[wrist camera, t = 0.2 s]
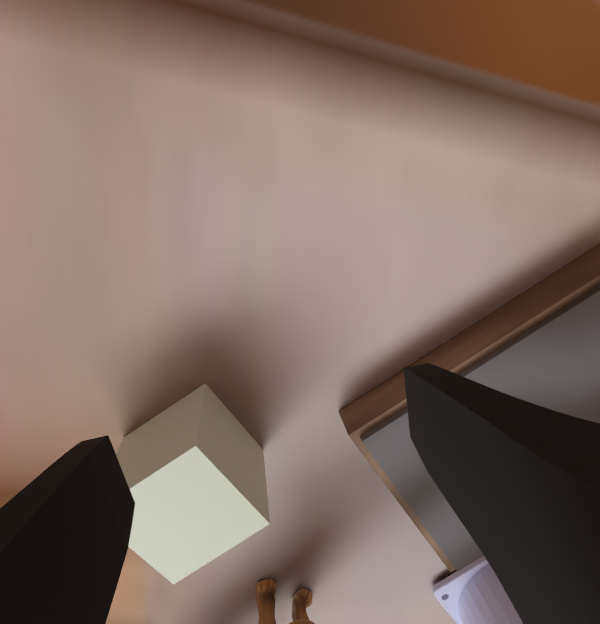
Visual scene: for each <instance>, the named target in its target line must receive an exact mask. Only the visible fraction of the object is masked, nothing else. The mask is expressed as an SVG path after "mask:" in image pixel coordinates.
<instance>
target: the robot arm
mask: <svg viewBox="0 0 600 624" xmlns="http://www.w3.org/2000/svg"><path fill="white" fill-rule="evenodd" d="M403 369H404V379H405V389H406V399H407V410H408V420H409V430H410V438H411V440H412V442H413V444H414V446H415V448H416V450H417V452H418V454H419V456H420V458H421V460H422V462H423V464H424V466H425V468H426V470H427V471H428V473H429V475H430V476H431V478H432V479H433V481H434V482H435V484H436V485H437V487H438V488H439V490H440V491H441V493H442V494H443V496H444V497H445V499H446V500H447V502H448V503H449V505H450V506H451V508H452V509H453V511H454V512H455V513H456V515H457V516H458V518H459V519H460V521H461V522H462V524H463V525H464V527H465V528H466V530H467V531H468V533H469V534H470V536H471V537H472V539H473V540H474V541H475V543H476V544H477V546H478V547H479V549H480V550H481V552H482V553H483V555H484V556H482V557H481V558H479V559H477V560H476V561H474V562H472V563H471V564H469V565H467V566H466V567H464V568H462V569H461V570H459V571H456V572H455V573H453V574H451V575H450V576H448V577H446V578H445V579H443V580H441V581H440V582H438V583H436V584H435V585H434V586H433V589H432V590H433V593H434V595H435V597H436V598H437V599H438V600H439V602H440V603H441V604H442V605H443V607H444V608H445V609H446V610H447V612H448V613H449V614H450V615H451V617H452V618H453V619H454V621H455V622H456V623H457V624H600V423H596V422H592V421H589V420H585V419H581V418H577V417H574V416H570V415H567V414H564V413H560V412H557V411H554V410H551V409H548V408H545V407H542V406H539V405H536V404H533V403H530V402H527V401H524V400H521V399H519V398H516V397H513V396H511V395H508V394H505V393H503V392H500V391H497V390H495V389H492V388H490V387H487V386H485V385H482V384H480V383H477V382H475V381H473V380H470V379H468V378H465V377H463V376H461V375H458V374H456V373H453V372H451V371H448V370H446V369H443V368H441V367H438V366H435V365H433V364H429V363H424V364H419V365H415V366H411V367H406V368H403ZM134 508H135V502H134V499H133V497H132V494H131V492H130V489H129V487H128V484H127V482H126V479H125V476H124V474H123V471H122V469H121V466H120V464H119V461H118V459H117V456H116V454H115V451H114V449H113V446H112V444H111V441H110V439H109V436H103V437H99V438H95V439H90V440H86V441H82V442H80V443H79V444H77V445H76V446H74V447H73V448H72V449H70V450H69V451H68V452H67V453H65V454H64V455H63V456H62V457H60V458H59V459H58V460H57V461H56V462H54V463H53V464H52V465H51V466H50V467H48V468H47V469H46V470H45V471H44V472H43V473H41V474H40V475H39V476H38V477H37V478H36V479H34V480H33V481H32V482H31V483H30V484H29V485H27V486H26V487H25V488H24V489H23V490H21V491H20V492H19V493H18V494H17V495H16V496H14V497H13V498H12V499H11V500H10V501H9V502H7V503H6V504H5V505H4V506H3V507H1V508H0V624H105V623H106V620H107V616H108V613H109V610H110V606H111V603H112V600H113V597H114V593H115V590H116V587H117V583H118V580H119V577H120V573H121V570H122V566H123V563H124V560H125V556H126V553H127V549H128V545H129V539H130V534H131V528H132V521H133V515H134Z"/></svg>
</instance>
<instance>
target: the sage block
mask: <svg viewBox="0 0 600 624" xmlns="http://www.w3.org/2000/svg"><path fill="white" fill-rule="evenodd" d="M116 456H117V459H118V461H119V464H120V466H121V469H122V471H123V474H124V476H125V479H126V482H127V484H128V487H129V489H130V492H131V494H132V497H133V499H134V502H135V508H134V515H133V521H132V528H131V534H130V539H129V545H128V547H130V548H131V549H132V550H133V551H134V552H136V553H137V554H138V555H139V556H140V557H141V558H143V559H144V560H145V561H146V562H147V563H149V564H150V565H151V566H152V567H153V568H155V569H156V570H157V571H158V572H159V573H160V574H162V575H163V576H164V577H165V578H166V579H168V580H169V581H170V582H171V583H172V584H175V583H177V582H178V581H180V580H181V579H183V578H184V577H186V576H188V575H189V574H191V573H192V572H194V571H196V570H197V569H199V568H200V567H202V566H204V565H205V564H207V563H208V562H210V561H212V560H213V559H215V558H216V557H218V556H219V555H221V554H223V553H224V552H226V551H227V550H229V549H231V548H232V547H234V546H235V545H237V544H239V543H240V542H242V541H243V540H245V539H246V538H248V537H250V536H251V535H253V534H254V533H256V532H258V531H259V530H261V529H262V528H264V527H266V526H267V525H269V524H270V520H269V509H268V498H267V487H266V476H265V465H264V454H263V449H262V448H261V447H260V446H259V444H258V443H257V442H256V441H255V440H254V439H253V438H252V436H251V435H250V434H249V433H248V432H247V431H246V430H245V428H244V427H243V426H242V425H241V424H240V423H239V421H238V420H237V419H236V418H235V417H234V416H233V415H232V413H231V412H230V411H229V410H228V409H227V408H226V406H225V405H224V404H223V403H222V402H221V401H220V400H219V398H218V397H217V396H216V395H215V394H214V393H213V392H212V390H211V389H210V388H209V387H208V386H207V385H206V383H205V384H204V385H202V386H200V387H199V388H197V389H196V390H194V391H193V392H191V393H190V394H188V395H187V396H185V397H184V398H182V399H181V400H179V401H178V402H176V403H175V404H173V405H172V406H170V407H169V408H167V409H166V410H164V411H163V412H161V413H160V414H158V415H157V416H155V417H154V418H152V419H151V420H149V421H148V422H146V423H145V424H143V425H142V426H140V427H139V428H137V429H136V430H134V431H133V432H131V433H130V434H128V435H127V436H125V437H124V438H123V440H122V442H121V445H120V447H119V449H118V452H117V454H116Z"/></svg>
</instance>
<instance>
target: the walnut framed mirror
mask: <svg viewBox="0 0 600 624" xmlns="http://www.w3.org/2000/svg"><path fill="white" fill-rule="evenodd" d="M424 363H429V364H433V365H435V366H438V367H441V368H443V369H446V370H448V371H451V372H453V373H456V374H458V375H461V376H463V377H465V378H468V379H470V380H473V381H475V382H477V383H480V384H482V385H485V386H487V387H490V388H492V389H495V390H497V391H500V392H503V393H505V394H508V395H511V396H513V397H516V398H519V399H521V400H524V401H527V402H530V403H533V404H536V405H539V406H542V407H545V408H548V409H551V410H554V411H557V412H560V413H564V414H567V415H570V416H574V417H577V418H581V419H585V420H589V421H592V422H596V423H600V244H599V245H597V246H596V247H594V248H592V249H591V250H589V251H588V252H586V253H585V254H583V255H582V256H580V257H578V258H577V259H575V260H574V261H572V262H571V263H569V264H568V265H566V266H564V267H563V268H561V269H560V270H558V271H557V272H555V273H553V274H552V275H550V276H549V277H547V278H546V279H544V280H543V281H541V282H539V283H538V284H536V285H535V286H533V287H532V288H530V289H529V290H527V291H525V292H524V293H522V294H521V295H519V296H518V297H516V298H515V299H513V300H511V301H510V302H508V303H507V304H505V305H504V306H502V307H501V308H499V309H497V310H496V311H494V312H493V313H491V314H490V315H488V316H487V317H485V318H483V319H482V320H480V321H479V322H477V323H476V324H474V325H472V326H471V327H469V328H468V329H466V330H465V331H463V332H462V333H460V334H458V335H457V336H455V337H454V338H452V339H451V340H449V341H448V342H446V343H444V344H443V345H441V346H440V347H438V348H437V349H435V350H434V351H432V352H430V353H429V354H427V355H426V356H424V357H423V358H421V359H420V360H418V361H416V362H415V363H413V364H412V365H410V366H409V367H411V366H415V365H419V364H424ZM339 414H340V416H341V418H342V421H343V423H344V425H345V428H346V430H347V433H348V435H349V436H350V438H351V439H352V440H353V442H354V443H355V444H356V446H357V447H358V449H359V450H360V451H361V453H362V454H363V455H364V457H365V458H366V459H367V461H368V462H369V463H370V465H371V466H372V467H373V469H374V470H375V471H376V473H377V474H378V475H379V477H380V478H381V479H382V481H383V482H384V483H385V485H386V486H387V487H388V489H389V490H390V491H391V493H392V494H393V495H394V497H395V498H396V500H397V501H398V502H399V504H400V505H401V506H402V508H403V509H404V510H405V512H406V513H407V514H408V516H409V517H410V518H411V520H412V521H413V522H414V524H415V525H416V526H417V528H418V529H419V530H420V532H421V533H422V534H423V536H424V537H425V538H426V540H427V541H428V542H429V544H430V545H431V547H432V548H433V549H434V551H435V552H436V553H437V555H438V556H439V557H440V559H441V560H442V561H443V563H444V564H445V565H446V567H447V568H448V569H449V571H450V572H453V571H454V570H457V571H459V570H461V569H462V568H464V567H466V566H467V565H469V564H471V563H472V562H474V561H476V560H477V559H479V558H481V557H482V556H484V555H483V553H482V552H481V550H480V549H479V547H478V546H477V544H476V543H475V541H474V540H473V539H472V537H471V536H470V534H469V533H468V531H467V530H466V528H465V527H464V525H463V524H462V522H461V521H460V519H459V518H458V516H457V515H456V513H455V512H454V511H453V509H452V508H451V506H450V505H449V503H448V502H447V500H446V499H445V497H444V496H443V494H442V493H441V491H440V490H439V488H438V487H437V485H436V484H435V482H434V481H433V479H432V478H431V476H430V475H429V473H428V471H427V470H426V468H425V466H424V464H423V462H422V460H421V458H420V456H419V454H418V452H417V450H416V448H415V446H414V444H413V442H412V440H411V438H410V430H409V420H408V410H407V399H406V389H405V379H404V370H402V371H401V372H399V373H398V374H396V375H395V376H393V377H391V378H390V379H388V380H387V381H385V382H384V383H382V384H381V385H379V386H377V387H376V388H374V389H373V390H371V391H370V392H368V393H367V394H365V395H363V396H362V397H360V398H359V399H357V400H356V401H354V402H353V403H351V404H349V405H348V406H346V407H345V408H343V409H342V410H340V411H339Z"/></svg>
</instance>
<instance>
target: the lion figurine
mask: <svg viewBox="0 0 600 624" xmlns="http://www.w3.org/2000/svg"><path fill="white" fill-rule="evenodd" d="M275 592H276V583H275V582H274V581H273V580H272V579H264V580H260V581H258V582H257V585H256V600H257V606H258V612H259V621H258V624H276V621H275V616H274V612H275V596H274V594H275ZM311 603H312V593H311V592H310V591H309V590H307V589H300V590H299V591H298V592H296V594H295V595H294V597H293V603H292V619H293V622H291V623H289V624H314V623H313V622H312V621H310V620H309V618H308V616H307V613H306V607H309V606H310V605H311Z"/></svg>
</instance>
